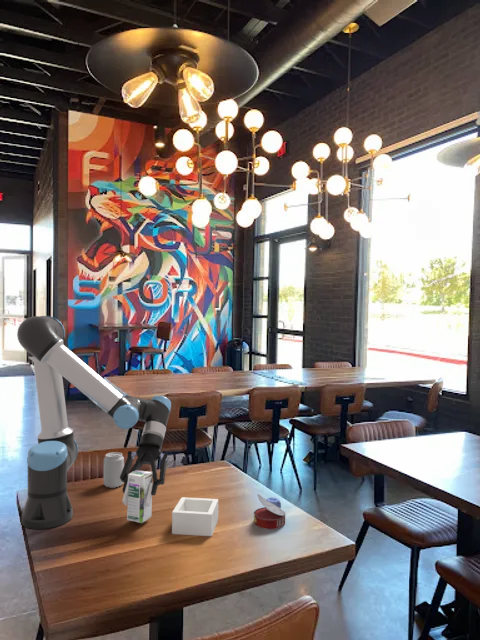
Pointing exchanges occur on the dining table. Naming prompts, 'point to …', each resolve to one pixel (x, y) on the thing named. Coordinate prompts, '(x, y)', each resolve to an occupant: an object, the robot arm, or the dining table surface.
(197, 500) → the socket
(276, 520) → the canned food
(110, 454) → the can
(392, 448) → the dining table surface
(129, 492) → the syrup box
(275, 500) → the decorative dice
